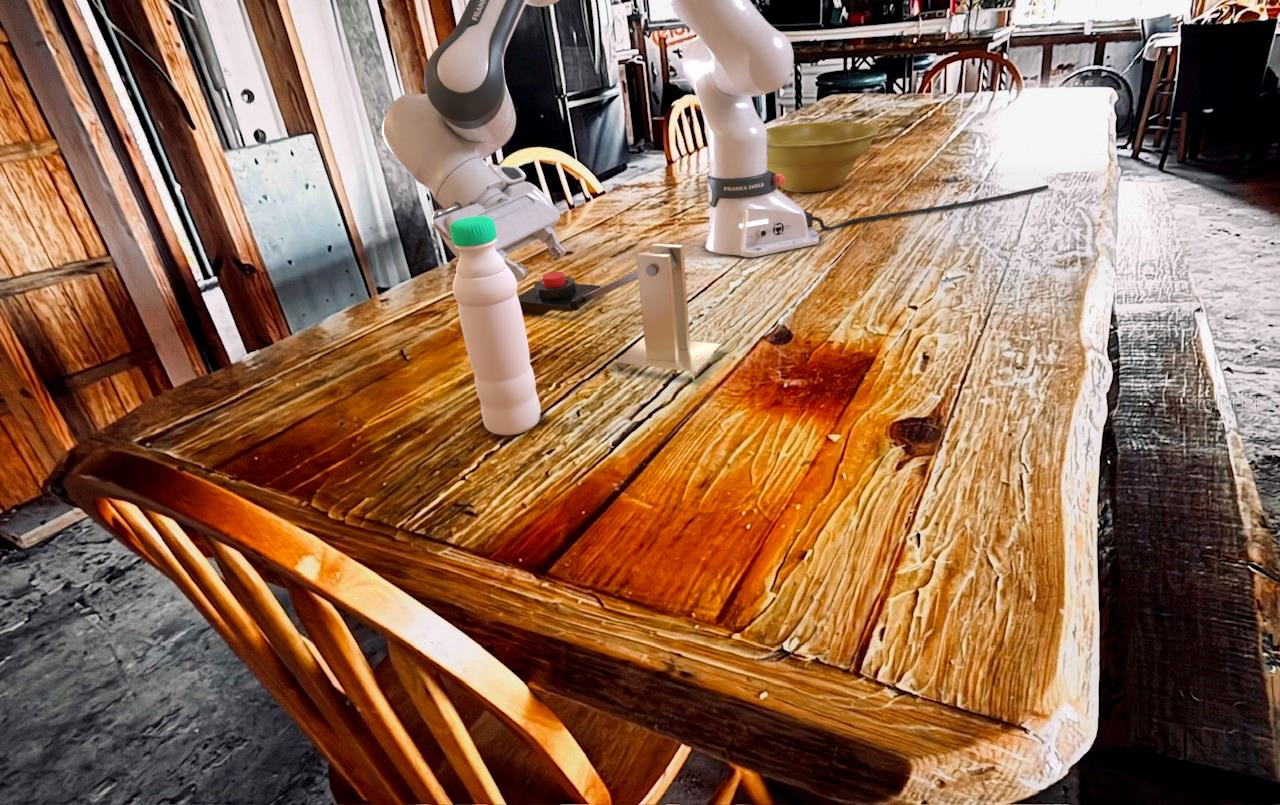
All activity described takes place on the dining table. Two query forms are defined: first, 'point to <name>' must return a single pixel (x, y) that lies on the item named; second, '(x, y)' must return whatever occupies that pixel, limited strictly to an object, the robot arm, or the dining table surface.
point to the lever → (610, 287)
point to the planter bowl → (816, 153)
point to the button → (553, 279)
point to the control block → (552, 297)
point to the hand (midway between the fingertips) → (543, 267)
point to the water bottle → (493, 329)
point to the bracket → (665, 315)
